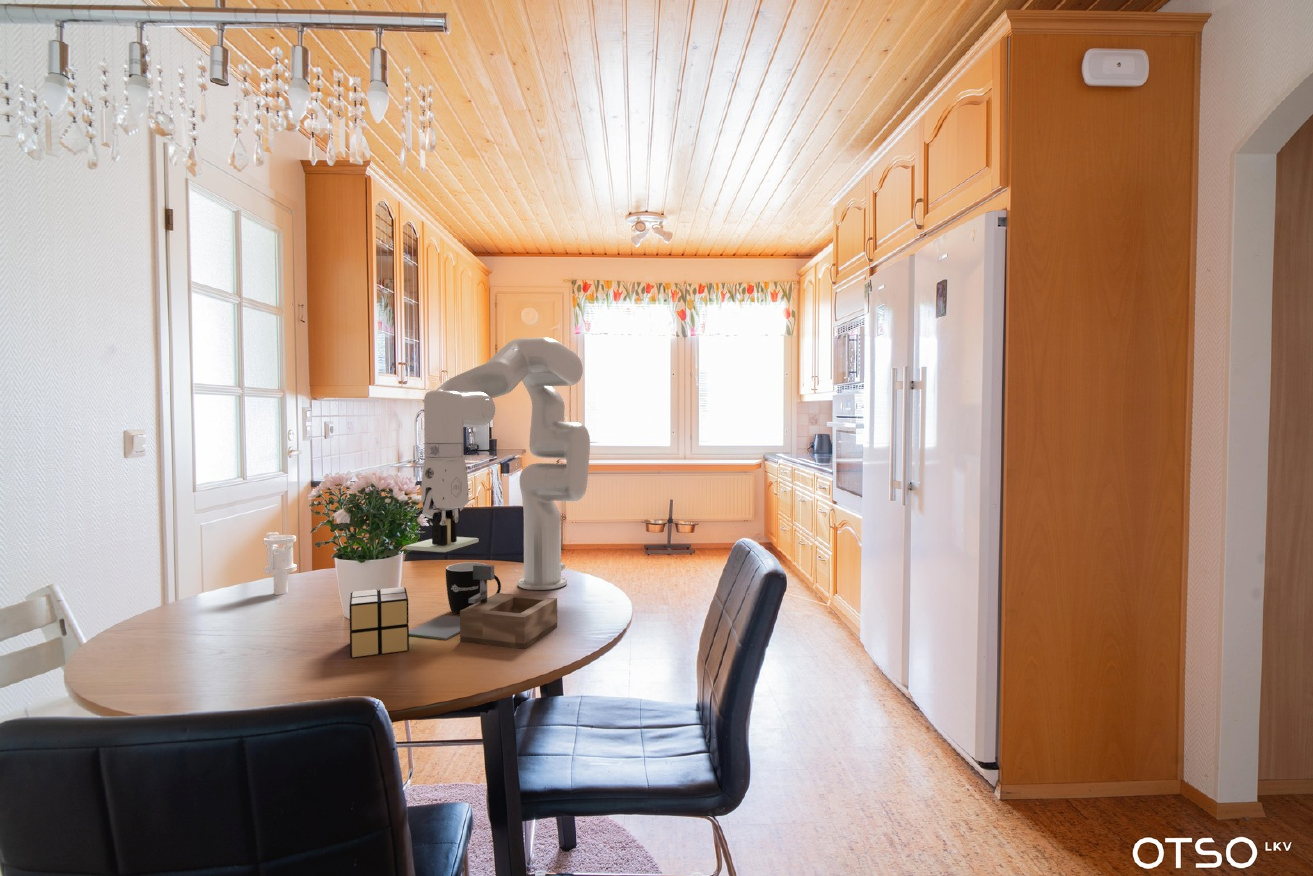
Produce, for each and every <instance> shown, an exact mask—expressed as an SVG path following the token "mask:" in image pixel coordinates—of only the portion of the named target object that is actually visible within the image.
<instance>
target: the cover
mask: <svg viewBox="0 0 1313 876" xmlns="http://www.w3.org/2000/svg"><path fill="white" fill-rule="evenodd" d="M445 525H447V545H433V544H432V538H429V539H425V540H421V541H417V542H414V543H411V544H406V545H405V550H407V551H408V550H409V551H421V552H422V551H423V552H434V553H435V552H436V553H447V552H451V551H454V550H458V549H459V548H460V549H461V548H464V547H467V546H470V545H472V544H476V543H480V542H479V539H480V538H478V537H464V536H457V541H456V542H454V543H451V519H445Z"/></svg>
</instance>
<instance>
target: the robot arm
mask: <svg viewBox="0 0 1313 876" xmlns="http://www.w3.org/2000/svg"><path fill="white" fill-rule="evenodd" d="M583 369H584V368H583V363H582V360H581V358H580V357H579V356H578V354H577V353H576V352H574V351H573V350H572V349H570V348H569V347H567V346H566V345H564V344H563V343H561V342H559V341H557V340H556V339H554V338H550V337H524V338H522V337H521V338H516V339H513V340H511V341H509V342H507V344H505V345H504V346H503V347H502V348H501V349H500V350H499V351H498V352H496V354H494V355H493V356H492V357H491V358H490V359H489V360H487V361H486V362H485V363H483V364H481V365H478V366H475V367H474V368H471V369H469V370H466V371H464V372H462V373H459V374H457V375H455V376H452V377H450V378H449V379H447V380H446V381H445V382H443V384H441V385H440V386H439V387H438V388H437V389H436V390H431V391H428V392H426V393H425V395H424V397H423V398H424V399H423V410H424V411H423V420H424V421H423V426H424V427H423V428H424V429H423V430H424V431H423V432H424V433H423V434H424V437H423V438H424V444H423V446H424V447H423V448H424V451H423V453H424V457H423V459H424V461H423V466H422V476H421V491H420V492H421V493H420V494H421V495H420V497H421V506H422V516H424V517H426V518H428V520H429V524H430V526H431V539H432V544H433V545H447V525H445V519H451V543H454V542H456V541H457V537H458V535H457V533H458V532H457V529H458V528H457V523H458V522H459V516H460V513H461V511H462V510H464V508H465V506H467V505H468V504H469V498H470V497H469V480H468V479H469V478H468V469H467V463H466V458H464V428H479V427H484V426H486V425H487V424H490V423H491V422H492V420H493V419H494V417H495V414H496V404H495V402H494V399H495V398H499V397H502V396H505V395H508V394H509V393H511V392H512V391H513V390H514V389H515V388H516V387H517V386H518V385H519V384H520V383H521V382H522V384H523V385H524V387H525V389H526V391H527V392H528V395H529V397H530V400H531V419H530V420H531V421H530V428H529V429H530V431H529V441H528V442H529V445H528V446H529V450H530V453H531V454H532V455H533V456H534V457H536V458H541V459H554V460H555V459H557V460H560V459H562V460H563V459H564V460H565V461H566V462H565V463H553V462H552V463H550V462H549V463H548V462H547V463H546V462H545V463H544V462H542V463H541V462H539V463H538V462H537V463H536V462H535V463H532V464H529V465H527V466H525V467H524V468H523V469H522V470H521V472H520V475H519V489H520V493H521V499H522V506H523V507H522V508H523V577H521V578H520V579H518V581H517V585H518V587H519V588H522V589H524V590H530V591H531V590H532V591H548V590H554V589H560V588H563V587H564V586H566V585H567V584H568V579H567V577H565V576H562V571H563V570H565V569H566V565H565V563H563V562H562V517H561V513H560V511H559V508H558V506H557V505H556V504H555V502H554V501H556V502H557V501H558V502H578V501H580V500H582V499H583V498H584V496H585V494H586V492H587V488H588V481H589V480H588V479H589V478H588V477H589V465H590V454H591V453H590V452H591V439H590V434H589V430H588V429H587V427H586V426H585V425H584V424H582V423H580V422H573V421H568V422H567V421H566V422H565V401H564V399H563V397H562V396H561V394H560V393H559V391H558V390H557V388H556V387H570V386H574V385H577V383H579V382H580V380H581V379H582V377H583V373H584V371H583Z"/></svg>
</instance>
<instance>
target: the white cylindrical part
mask: <svg viewBox="0 0 1313 876" xmlns="http://www.w3.org/2000/svg"><path fill="white" fill-rule="evenodd" d="M295 542H297V536H296V535H293V534H292V535H291V534H281V535H280V532H277V531H276V532H275V531H274V532H270V531H269V532H266V533H265V537H264V538H263V544H264V545H266V546H265V548H267V552H266V553H267V559H266V560H267V562H266V563H267V564H266V565H267V566H265V567H264V568H263V573H264V574H266V575H273V595H277V596H278V595H279V596H281V595H285V594H288V593H289V586H288V585H289V583H288V582H289V581H288V579H289V577H288V576H289V575H288V573H292V572H296V571H297V569H298V568H297V566H298V565H297V564H296V563H294V543H295ZM280 545H282V547H281V548H280Z"/></svg>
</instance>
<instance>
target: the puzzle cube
mask: <svg viewBox="0 0 1313 876" xmlns="http://www.w3.org/2000/svg"><path fill="white" fill-rule="evenodd" d="M409 622H410V621H409V596H408V591H407V588H406V587H405V586H399V587H398V586H397V587H389V588H388V587H387V588H380V589H365V590H355V591H352V592H351V593H350V599H349V654H350V656H349V657H350V658H351V659H357V658H365V657H371V656H379V655H380V654H381V655H388V654H397V653H404V652H408V651H409V650H410V636H409V630H410V625H409Z"/></svg>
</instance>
